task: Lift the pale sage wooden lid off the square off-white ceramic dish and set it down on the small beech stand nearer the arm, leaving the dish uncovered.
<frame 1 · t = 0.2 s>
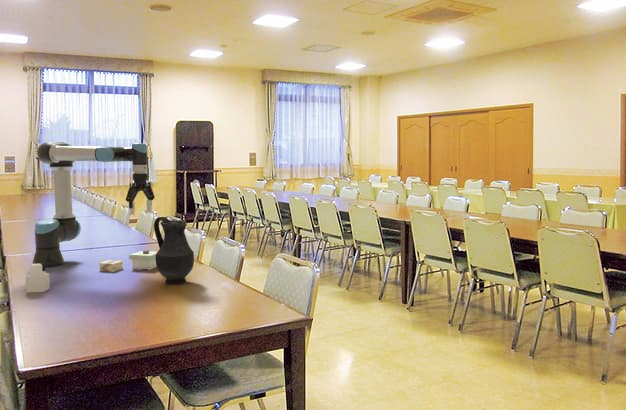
hand: (140, 213, 306), 28 cm above the table, fingers open, 13 cm apart
medicine bottle: (38, 291, 251), on the table
stand: (111, 269, 295), on the table
dish: (146, 267, 301), on the table
lid: (146, 258, 301), point 5 cm above the table, touching dish
pitcher: (172, 282, 268), on the table
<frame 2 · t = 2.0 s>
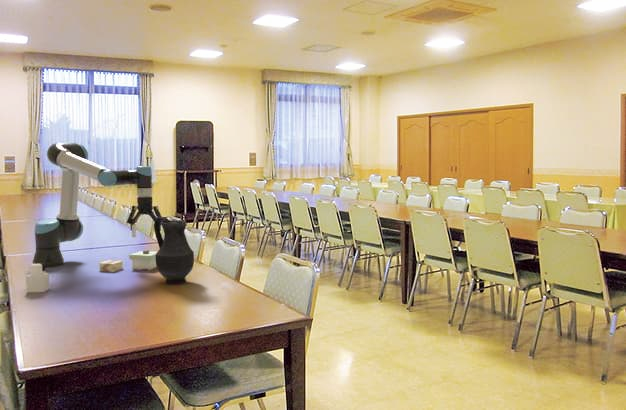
hand: (145, 237, 300), 16 cm above the table, fingers open, 13 cm apart
nothing on the table moved.
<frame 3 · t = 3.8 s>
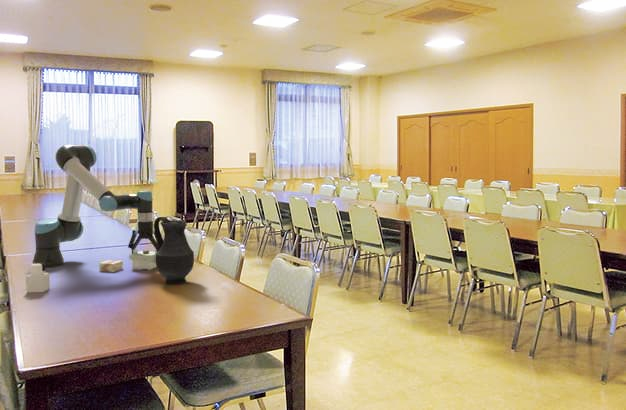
hand: (146, 262, 301), 3 cm above the table, fingers closed on lid, 12 cm apart
lid: (146, 258, 301), point 5 cm above the table, touching dish, gripper
everything else where it was.
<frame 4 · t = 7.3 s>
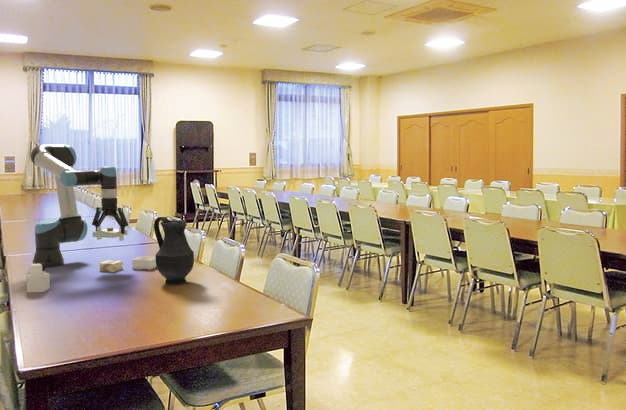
hand: (110, 239, 294), 15 cm above the table, fingers closed on lid, 12 cm apart
lid: (110, 235, 293), point 18 cm above the table, touching gripper
everything else where it was.
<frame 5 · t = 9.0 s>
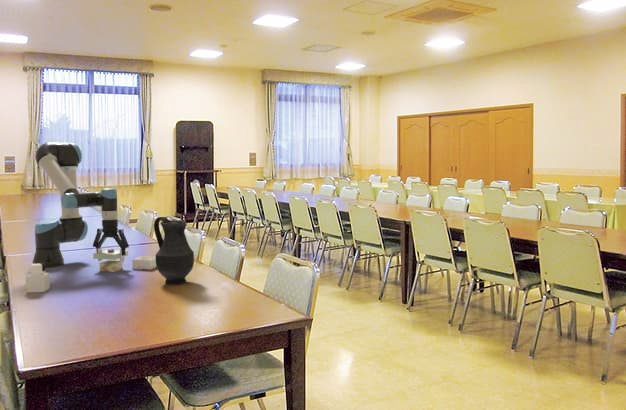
hand: (111, 261, 295), 4 cm above the table, fingers closed on lid, 12 cm apart
lid: (111, 257, 294), point 7 cm above the table, touching gripper
everything else where it was.
when the fingers open (2 cm above the table, at t = 10.6 s): lid stays where it is, resting on stand.
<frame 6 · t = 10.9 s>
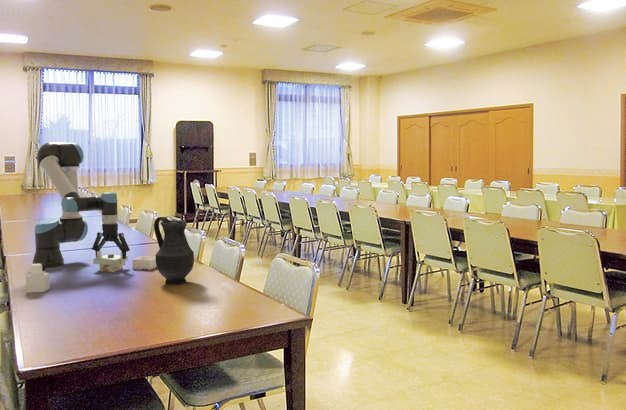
hand: (111, 264, 295), 3 cm above the table, fingers open, 13 cm apart
lid: (110, 262, 295), point 4 cm above the table, touching stand
everything else where it was.
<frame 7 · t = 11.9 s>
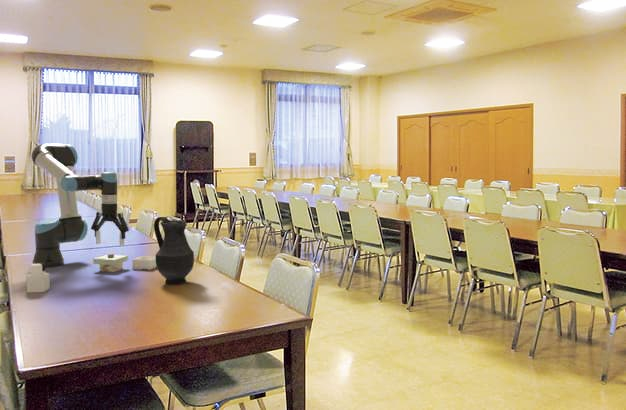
hand: (110, 244, 294), 13 cm above the table, fingers open, 13 cm apart
nothing on the table moved.
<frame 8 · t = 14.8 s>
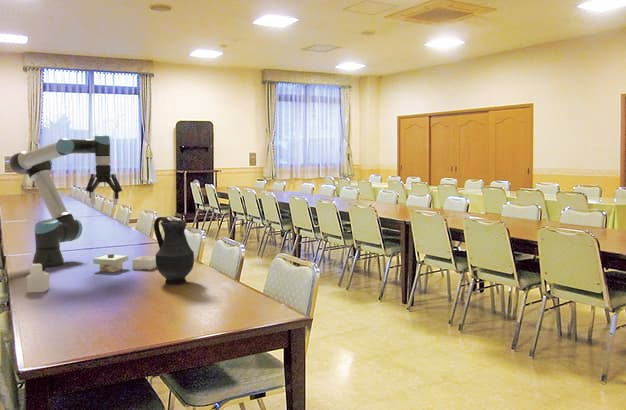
hand: (104, 204, 308), 32 cm above the table, fingers open, 13 cm apart
nothing on the table moved.
at the end: lid inside the target area on the stand (0.0 cm from its centre), point 4.0 cm above the stand's base; lid touching stand; lid tilted 0° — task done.
